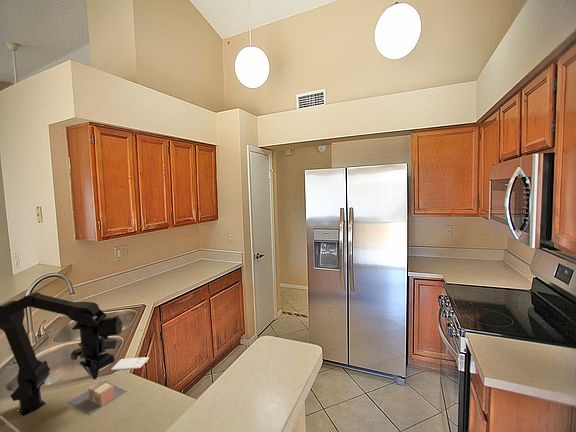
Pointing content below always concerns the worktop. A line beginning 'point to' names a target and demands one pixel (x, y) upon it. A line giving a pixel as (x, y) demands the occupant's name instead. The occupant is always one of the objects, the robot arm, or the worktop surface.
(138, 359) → the external hard drive
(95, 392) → the block
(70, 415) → the worktop surface
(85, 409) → the mat
